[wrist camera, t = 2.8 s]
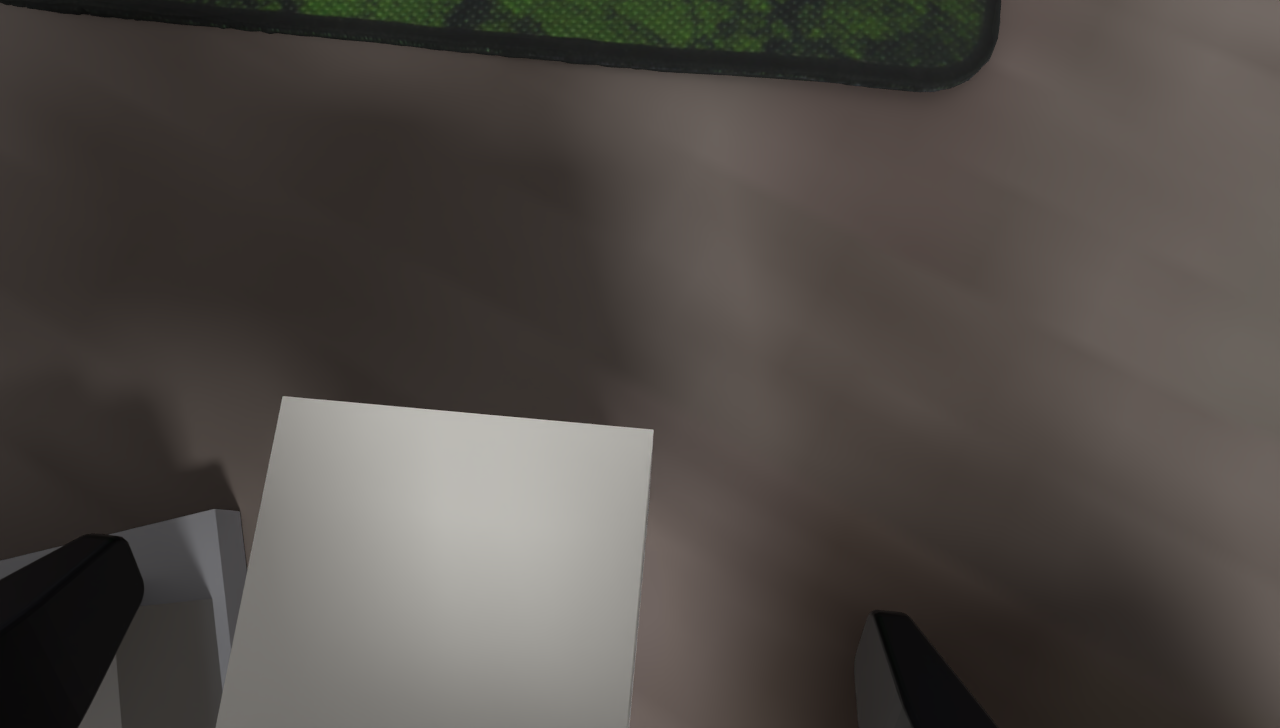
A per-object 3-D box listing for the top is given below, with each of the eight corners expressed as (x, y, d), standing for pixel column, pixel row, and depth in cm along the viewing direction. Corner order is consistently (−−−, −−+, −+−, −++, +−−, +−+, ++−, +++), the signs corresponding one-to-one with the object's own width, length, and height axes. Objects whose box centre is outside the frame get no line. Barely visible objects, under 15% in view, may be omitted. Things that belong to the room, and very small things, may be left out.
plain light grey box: (627, 749, 16) (597, 1062, 6) (456, 732, 16) (157, 1013, 6) (649, 499, 17) (652, 429, 7) (489, 484, 17) (283, 395, 7)
